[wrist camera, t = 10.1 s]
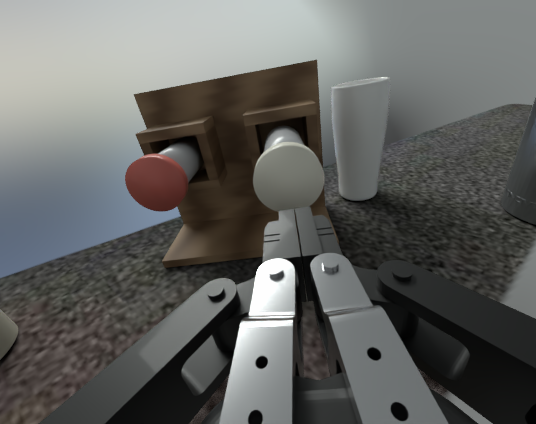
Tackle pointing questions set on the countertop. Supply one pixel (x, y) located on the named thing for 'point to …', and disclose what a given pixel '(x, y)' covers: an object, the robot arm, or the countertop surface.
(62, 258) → the countertop surface
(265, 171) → the ivory button
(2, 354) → the travel mug
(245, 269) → the countertop surface
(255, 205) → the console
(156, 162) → the red button
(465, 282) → the countertop surface
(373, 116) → the drinking glass
